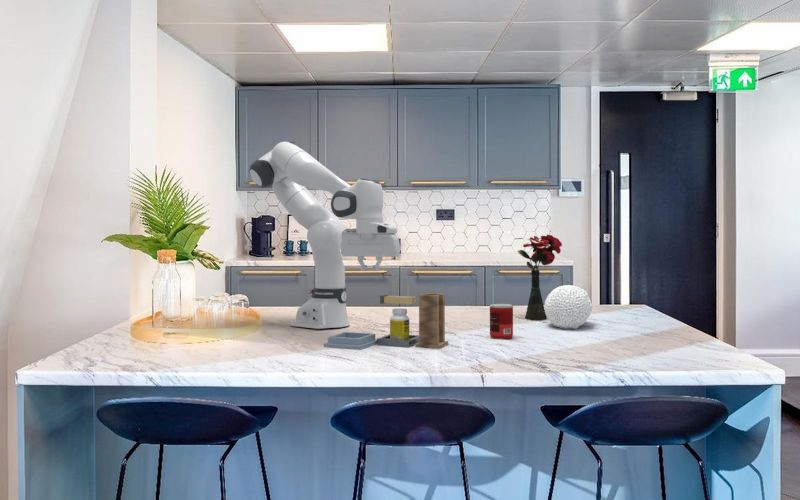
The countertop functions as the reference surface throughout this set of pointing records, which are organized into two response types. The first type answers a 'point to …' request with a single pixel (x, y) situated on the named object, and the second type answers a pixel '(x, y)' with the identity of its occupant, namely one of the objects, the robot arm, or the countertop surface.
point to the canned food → (501, 321)
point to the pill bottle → (399, 324)
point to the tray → (351, 340)
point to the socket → (398, 341)
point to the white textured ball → (568, 307)
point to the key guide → (432, 321)
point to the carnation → (545, 257)
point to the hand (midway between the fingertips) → (370, 270)
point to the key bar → (397, 299)
